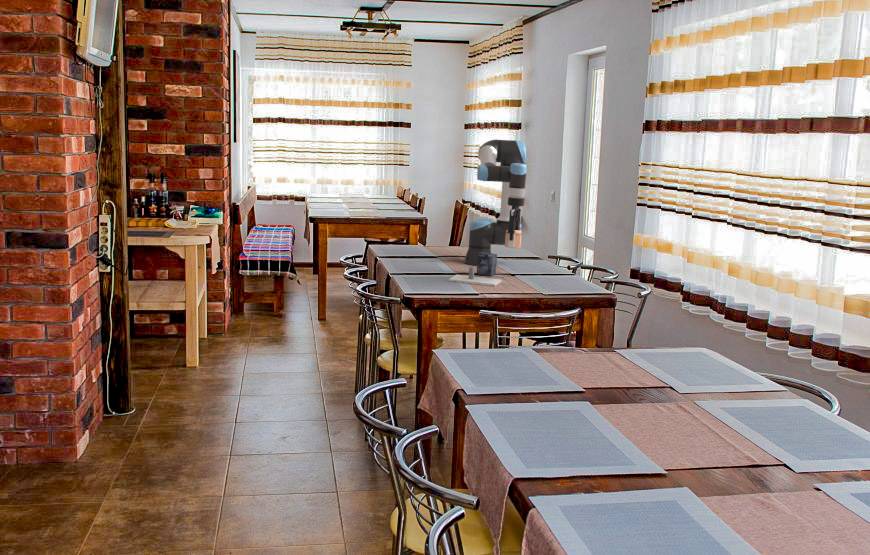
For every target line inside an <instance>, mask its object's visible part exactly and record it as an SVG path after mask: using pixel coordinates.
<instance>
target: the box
mask: <svg viewBox="0 0 870 555" xmlns="http://www.w3.org/2000/svg"><path fill="white" fill-rule="evenodd" d="M497 258H498V254H497V253H492V252H491V253H485V252H482V253H478V261H477V265H476V275H478V276H479V275H480V276H486V277H494V276H496V273H497V262H498V260H497Z"/></svg>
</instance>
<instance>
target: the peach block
mask: <svg viewBox="0 0 870 555" xmlns="http://www.w3.org/2000/svg"><path fill="white" fill-rule="evenodd" d="M507 231H508V230H506V236H505V245H504V247H506V248H509V249H512V248H511V247H508V239H509V233H507ZM514 234H515V241H514V248H513V249H520V248H521V247H522V230H521V231H519V230H515V233H514Z"/></svg>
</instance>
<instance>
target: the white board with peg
mask: <svg viewBox="0 0 870 555" xmlns="http://www.w3.org/2000/svg"><path fill="white" fill-rule="evenodd" d="M452 281H457V282H456V283H461V282H464V283H463V284H471V285H479V286H488V287H496V286H498V285H499V284H501V283H502V282H503V281H502V279H499V278H489V277H481V276H480V277H479V276H475V267H474V266H469V267H468V275H464V274H462V275H461V274H455V275H453V276H452V277H450V278H448V282H452Z"/></svg>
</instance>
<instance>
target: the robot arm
mask: <svg viewBox="0 0 870 555" xmlns="http://www.w3.org/2000/svg"><path fill="white" fill-rule="evenodd" d="M477 156H478V160H479V161H480V164H479V165H478V166H477V171H476V178H477V180H478V181H482V182H498V183H502V184H501V195H500V196H501V197H500V209H499V210H500V211H499V212H500V213H499V216H498V217H497V218H496V222H494V221H493V219H491V218H482V219H473V221H471V222H470V224H469V229H468V230H469V233H468V234H469V235H468V236H469V237H468V247H467V248H468V249H467V251H466V254H465V257H464V258H463V259H464V264H466V265H471V266H477V261H478V253H482V252H485V253H492V251H491V250H492V248H491V246H492V245H494V246H505V236H506V230H508V231H507V233H509V239H508V247H511V248H510V249H515V248H514V241H515V234H514V233H515V230H519V231H522V226H523V225H522V224H521V211H522V209H521V208H520V207H524V205H525V197H526V196H525V195H526V179H527V172H528V170H527V167H528V166H527V147H526V144H525V142H524V141H522V140H510V139H491V140H488V141H486V142H484V143H483V144H481V146H480V147H479V149H478V151H477ZM497 163H500V165H497ZM508 247H507V248H508Z"/></svg>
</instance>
